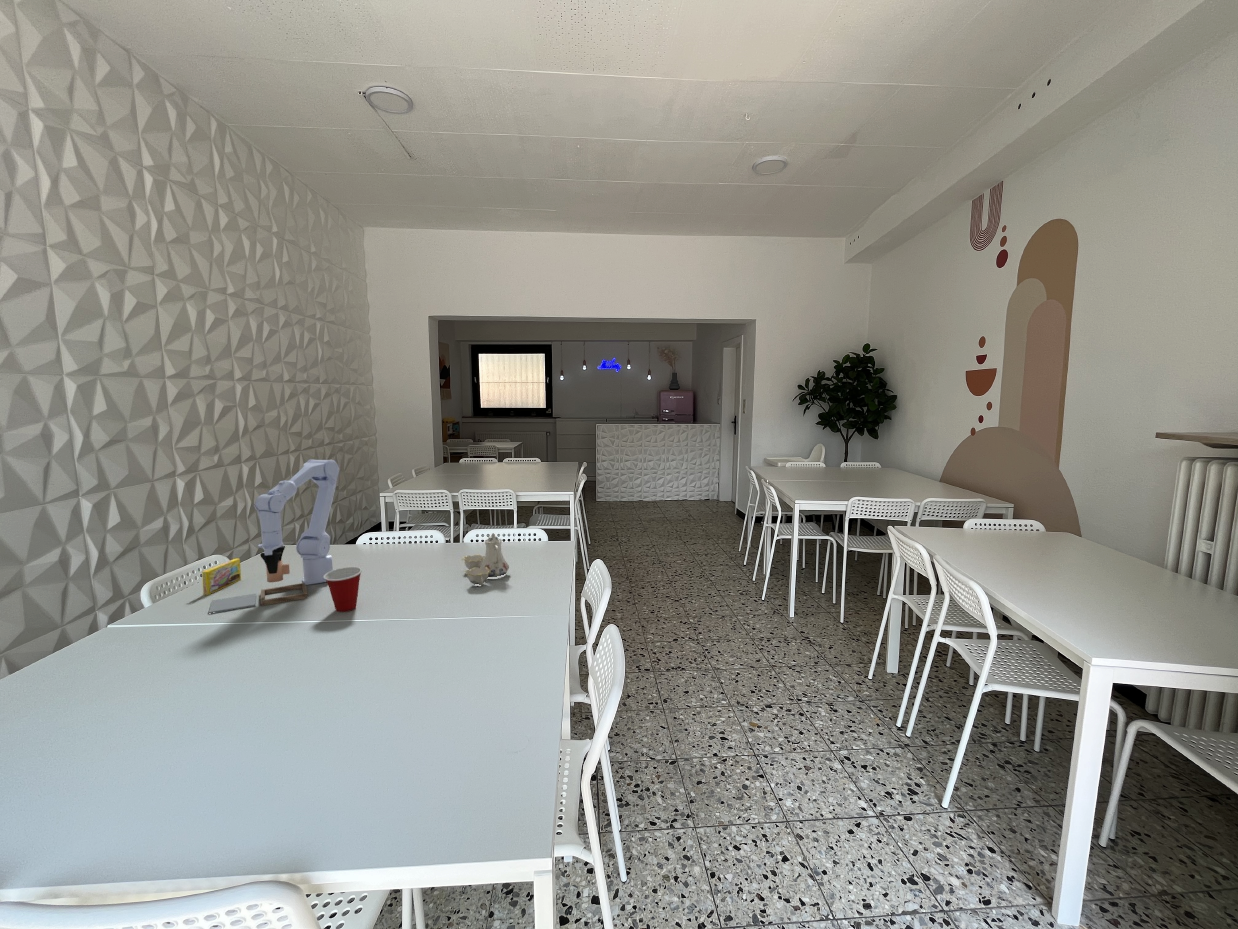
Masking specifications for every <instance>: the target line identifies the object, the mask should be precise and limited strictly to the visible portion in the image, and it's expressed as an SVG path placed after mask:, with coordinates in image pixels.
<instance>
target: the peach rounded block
mask: <svg viewBox="0 0 1238 929" xmlns="http://www.w3.org/2000/svg"><path fill="white" fill-rule="evenodd" d="M265 567H266V568H265V570H266V582H267V583H278V582H282V581H283V580H284V575H290V573H291V572H290V569H291V568H290V563H284V564H283V560H281V561H278V570H277V573H274V574H269V572H268V569H267V566H266V565H265Z"/></svg>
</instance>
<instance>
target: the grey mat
mask: <svg viewBox="0 0 1238 929" xmlns="http://www.w3.org/2000/svg"><path fill="white" fill-rule="evenodd" d="M256 602H257V593H250V594H243V595H237V596H231V597H225V598H220V599H219V598H218V599H212V600H211V604H210V607H209V610H208V614H209V613H212V614H214V613H213V612H218V613H222V612H221V611H224V612H229V611H228V610H230V611H234V610H233V609H236V610H240V609H239V608H242V609H248V608H254V607H256V604H257V603H256ZM247 607H248V608H247Z"/></svg>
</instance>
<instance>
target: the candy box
mask: <svg viewBox="0 0 1238 929" xmlns="http://www.w3.org/2000/svg"><path fill="white" fill-rule="evenodd" d="M241 572H242V571H241V559H240V558H234V559H231V560H228V561H226V562H223V563H220V564H219V565H216V566H213V567H211V568H207V569H206V570H203V571H202V574H201V575H202V591H203V592H202V593H203V596H209V595H211V593H212V594H214V593H216V592H218V591H221V590H222V588H223V589H224V588H226V587H229V586H231V585H233V584H236V583H238V582H239V581H241V580H242V573H241ZM213 592H214V593H213Z"/></svg>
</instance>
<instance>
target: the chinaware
mask: <svg viewBox="0 0 1238 929" xmlns="http://www.w3.org/2000/svg"><path fill="white" fill-rule="evenodd" d="M487 537H488V539H485V540H484V541H483V542H484V545H485V555H481V554H478V553H477V554H474V555H465V556H464V557H463V558H461V561H463V562H464V566H465V568H467V570H465V571H464V572H465V573H464V574H466V577H467V579H468V582H470V583H471V584H473V585H475V584H479V585H481V586H480V587H483V586H484V585H483V584H484V583H485V582H487V580H488V579H487V578H488V577H497V576H501V575H504V574H506V575H507V573H508V571H509V569H510V565H509V563H508V562H507V561H506V559H505V558H504V555H503V551H502V542H503V539H502V538H499V537H498V536H496V534H495V533H491V534H490V536H487ZM482 585H483V586H482Z"/></svg>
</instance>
